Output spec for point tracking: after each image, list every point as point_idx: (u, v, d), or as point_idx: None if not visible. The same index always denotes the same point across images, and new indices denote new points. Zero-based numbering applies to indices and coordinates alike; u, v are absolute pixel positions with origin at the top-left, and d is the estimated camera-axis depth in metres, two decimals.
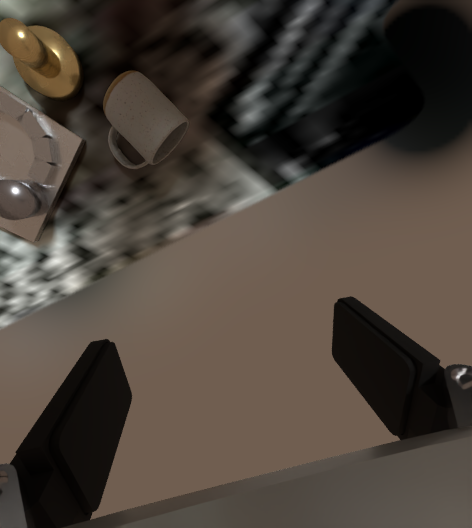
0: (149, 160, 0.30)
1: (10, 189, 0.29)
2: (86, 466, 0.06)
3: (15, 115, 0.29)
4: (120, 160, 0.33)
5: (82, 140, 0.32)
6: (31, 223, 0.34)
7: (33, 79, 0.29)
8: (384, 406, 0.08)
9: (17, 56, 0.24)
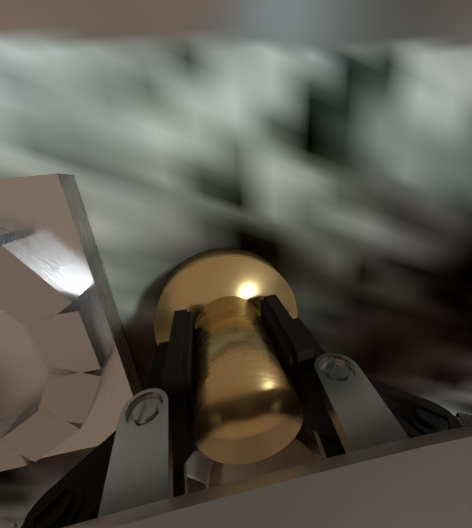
0: None
1: None
2: None
3: (55, 363, 0.10)
4: None
5: None
6: None
7: None
8: None
9: (206, 451, 0.07)
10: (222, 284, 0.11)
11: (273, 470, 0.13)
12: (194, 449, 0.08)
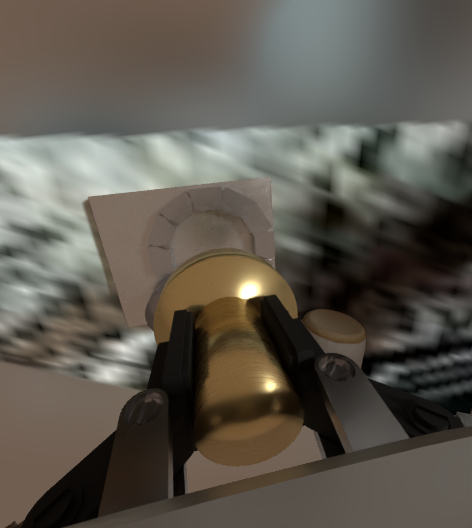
0: None
1: None
2: None
3: (259, 253, 0.24)
4: None
5: None
6: None
7: None
8: None
9: (206, 453, 0.07)
10: (222, 285, 0.10)
11: (333, 319, 0.27)
12: (195, 448, 0.08)
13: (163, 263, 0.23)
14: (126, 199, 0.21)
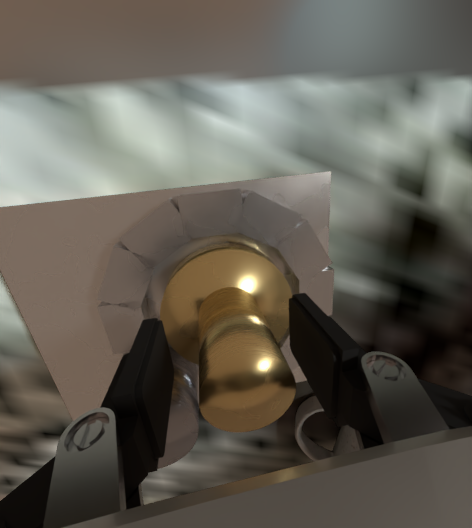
0: None
1: (174, 426, 0.11)
2: (156, 418, 0.07)
3: None
4: (300, 427, 0.18)
5: None
6: None
7: (178, 316, 0.12)
8: (322, 392, 0.08)
9: (209, 418, 0.08)
10: (223, 276, 0.11)
11: None
12: (154, 468, 0.07)
13: (130, 333, 0.12)
14: (53, 214, 0.11)
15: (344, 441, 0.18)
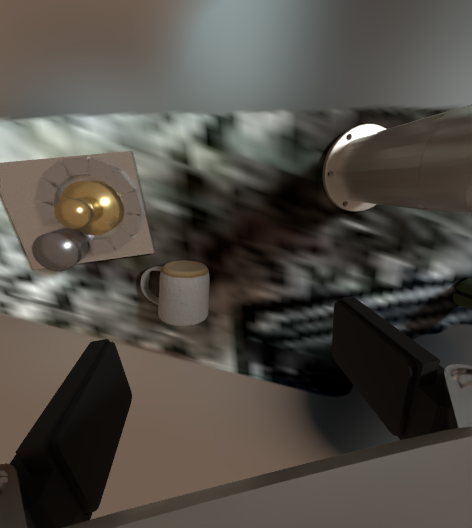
0: (159, 316, 0.34)
1: (65, 249, 0.30)
2: (86, 466, 0.06)
3: (127, 210, 0.31)
4: (142, 283, 0.36)
5: (153, 252, 0.35)
6: None
7: None
8: (384, 406, 0.08)
9: (59, 221, 0.26)
10: (84, 191, 0.29)
11: (187, 265, 0.35)
12: None
13: (50, 215, 0.30)
14: (17, 166, 0.29)
15: None
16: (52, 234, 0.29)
